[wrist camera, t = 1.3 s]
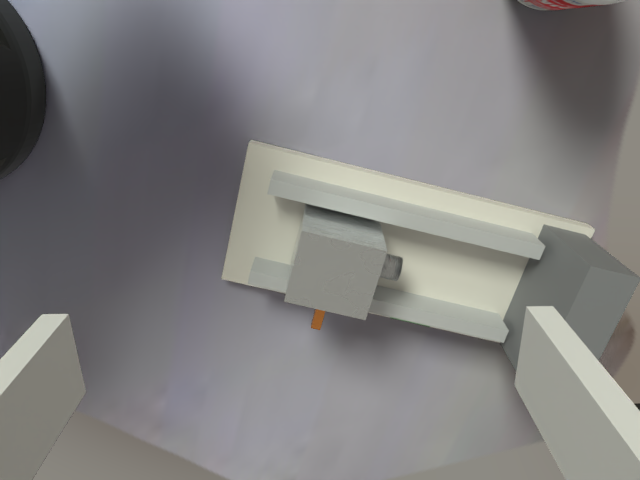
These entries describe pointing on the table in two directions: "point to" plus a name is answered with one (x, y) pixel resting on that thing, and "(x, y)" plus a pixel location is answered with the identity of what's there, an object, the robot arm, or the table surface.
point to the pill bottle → (565, 3)
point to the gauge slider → (338, 263)
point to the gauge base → (433, 250)
